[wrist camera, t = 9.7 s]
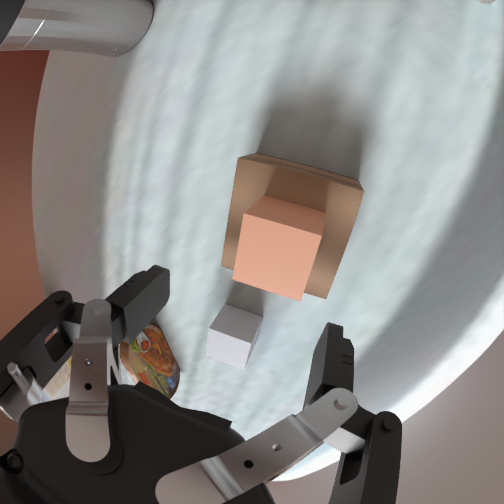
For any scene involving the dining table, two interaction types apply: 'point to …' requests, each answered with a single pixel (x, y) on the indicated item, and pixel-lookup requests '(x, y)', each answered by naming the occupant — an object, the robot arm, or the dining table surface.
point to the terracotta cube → (278, 246)
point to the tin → (151, 361)
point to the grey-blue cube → (233, 336)
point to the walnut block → (301, 193)
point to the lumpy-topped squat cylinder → (486, 1)
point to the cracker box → (58, 384)
